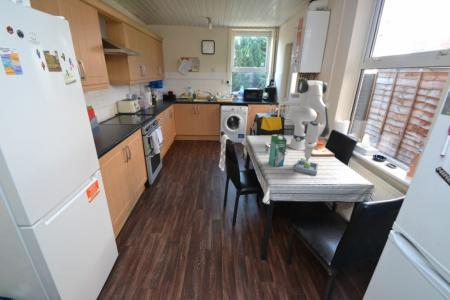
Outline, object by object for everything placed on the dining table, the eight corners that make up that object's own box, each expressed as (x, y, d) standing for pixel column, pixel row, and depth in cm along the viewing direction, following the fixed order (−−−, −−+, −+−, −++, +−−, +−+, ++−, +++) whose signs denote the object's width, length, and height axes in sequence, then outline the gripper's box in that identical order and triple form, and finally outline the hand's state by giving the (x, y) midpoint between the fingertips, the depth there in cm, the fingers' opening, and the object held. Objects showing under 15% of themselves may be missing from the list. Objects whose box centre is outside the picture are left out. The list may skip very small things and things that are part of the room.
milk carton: (273, 167, 168) (277, 137, 159) (268, 162, 176) (271, 134, 167) (283, 166, 170) (287, 137, 162) (277, 161, 179) (281, 133, 170)
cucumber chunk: (303, 166, 169) (304, 161, 167) (309, 167, 167) (310, 162, 165) (303, 168, 165) (304, 163, 163) (309, 170, 163) (310, 164, 161)
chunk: (300, 161, 180) (301, 157, 178) (305, 162, 178) (306, 158, 176) (299, 163, 176) (300, 159, 175) (305, 164, 174) (306, 160, 173)
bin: (297, 163, 176) (298, 159, 175) (317, 167, 169) (318, 163, 168) (294, 170, 163) (295, 166, 161) (316, 175, 156) (317, 171, 155)
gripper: (308, 138, 168) (305, 153, 174) (304, 146, 151) (301, 162, 157) (316, 139, 166) (313, 155, 171) (313, 147, 149) (310, 164, 154)
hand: (307, 158), depth 164 cm, fingers open, 8 cm apart
